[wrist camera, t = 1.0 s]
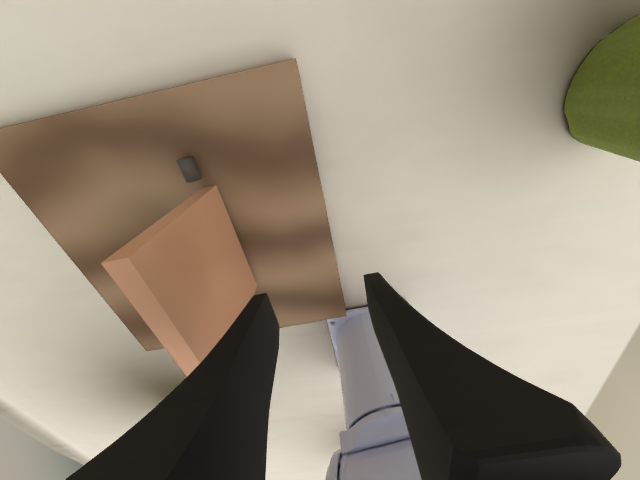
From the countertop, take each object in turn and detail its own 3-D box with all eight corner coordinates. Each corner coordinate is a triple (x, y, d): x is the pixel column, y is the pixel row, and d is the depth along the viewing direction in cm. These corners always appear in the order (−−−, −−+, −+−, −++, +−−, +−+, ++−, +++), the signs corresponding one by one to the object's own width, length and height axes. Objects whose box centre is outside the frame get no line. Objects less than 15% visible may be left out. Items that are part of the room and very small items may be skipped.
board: (345, 308, 24) (348, 324, 22) (152, 342, 25) (140, 360, 23) (296, 61, 14) (294, 54, 13) (-11, 134, 15) (-52, 137, 14)
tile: (257, 285, 20) (224, 398, 12) (243, 287, 20) (201, 401, 12) (216, 184, 16) (128, 257, 8) (198, 188, 16) (95, 264, 8)
